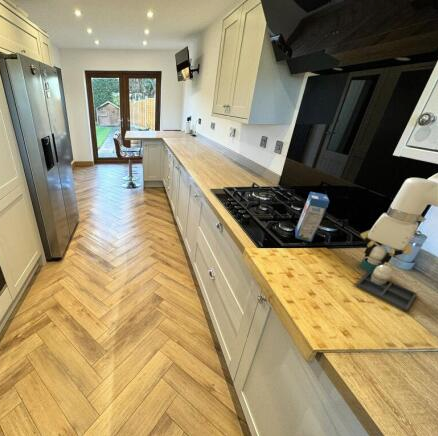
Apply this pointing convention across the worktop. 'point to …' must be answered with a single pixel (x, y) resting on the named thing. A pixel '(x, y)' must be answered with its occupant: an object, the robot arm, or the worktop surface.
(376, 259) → the egg
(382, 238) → the robot arm
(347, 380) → the worktop surface
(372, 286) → the egg tray
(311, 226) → the milk carton
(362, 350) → the worktop surface
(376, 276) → the egg
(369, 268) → the egg cup
